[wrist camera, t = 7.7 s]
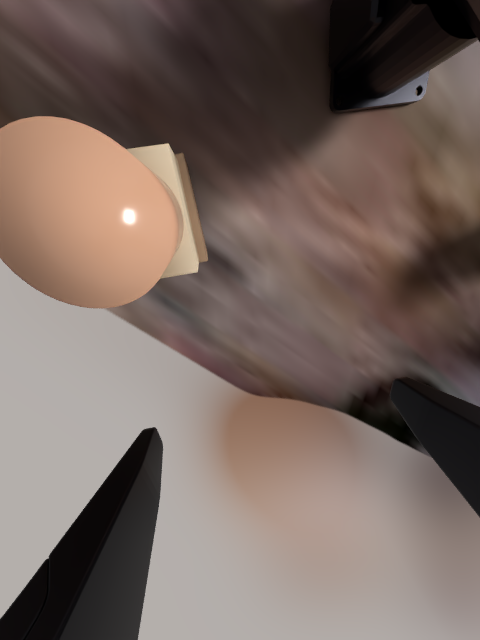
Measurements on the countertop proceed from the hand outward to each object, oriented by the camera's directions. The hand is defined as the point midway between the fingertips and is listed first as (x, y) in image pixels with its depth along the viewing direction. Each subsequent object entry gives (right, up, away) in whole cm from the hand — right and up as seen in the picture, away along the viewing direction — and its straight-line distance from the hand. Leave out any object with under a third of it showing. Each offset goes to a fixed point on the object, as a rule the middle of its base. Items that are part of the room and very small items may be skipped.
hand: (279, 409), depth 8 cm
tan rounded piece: (-6, +8, +2) cm, 10 cm away
